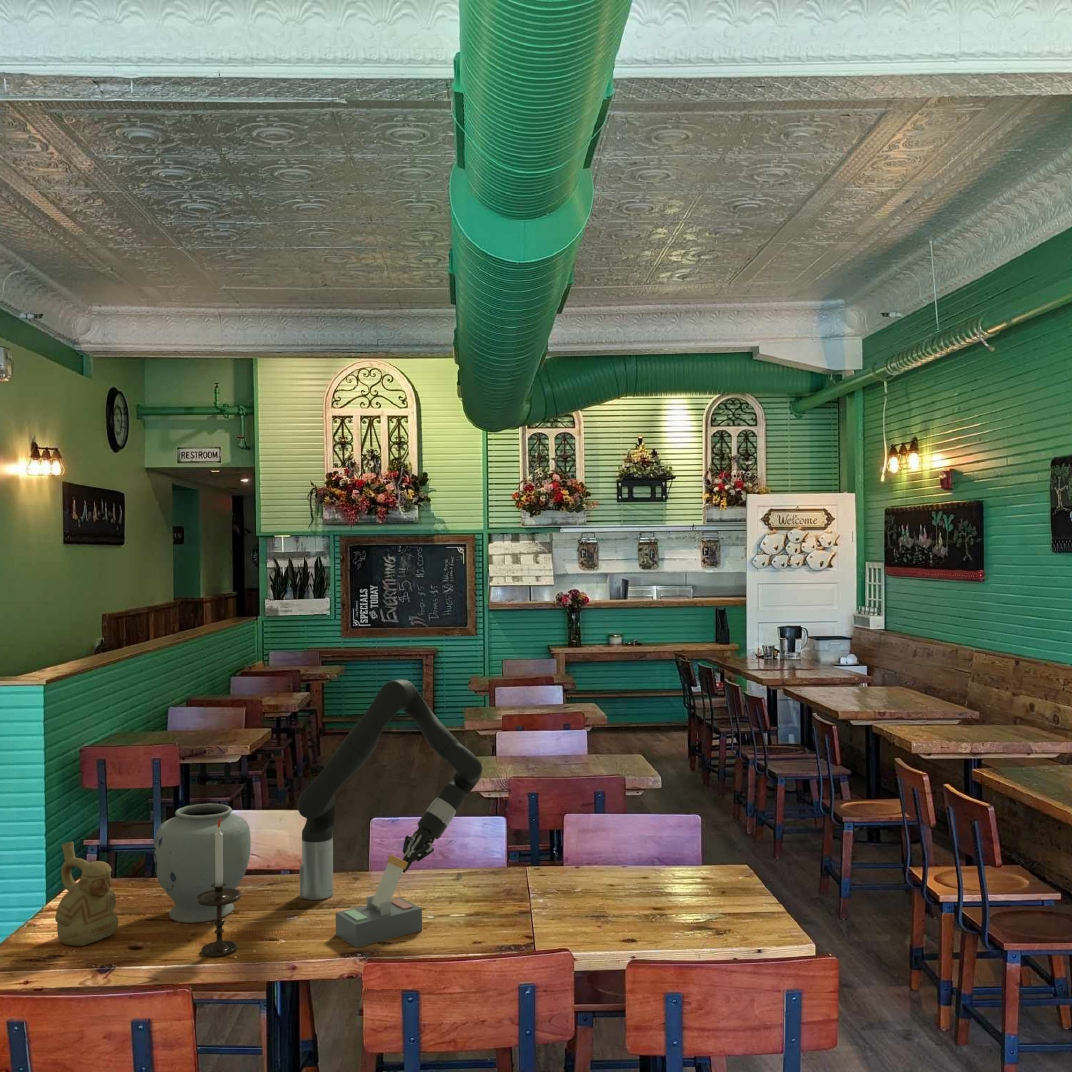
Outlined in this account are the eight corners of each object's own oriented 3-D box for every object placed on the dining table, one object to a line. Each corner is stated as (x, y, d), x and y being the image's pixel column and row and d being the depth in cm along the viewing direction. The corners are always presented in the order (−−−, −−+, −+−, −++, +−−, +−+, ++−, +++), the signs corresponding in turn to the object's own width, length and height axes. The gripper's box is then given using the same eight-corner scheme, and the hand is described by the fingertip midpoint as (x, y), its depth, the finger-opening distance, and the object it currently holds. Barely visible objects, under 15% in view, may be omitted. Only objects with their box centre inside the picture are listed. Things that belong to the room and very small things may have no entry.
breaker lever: (380, 910, 270) (401, 859, 274) (369, 904, 275) (390, 854, 279) (387, 913, 271) (408, 862, 276) (376, 907, 276) (396, 857, 281)
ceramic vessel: (78, 955, 260) (78, 858, 261) (35, 941, 270) (35, 847, 271) (135, 934, 274) (135, 842, 275) (91, 921, 285) (91, 833, 286)
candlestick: (248, 949, 262) (248, 815, 263) (210, 962, 254) (210, 823, 255) (227, 939, 269) (226, 808, 270) (189, 951, 261) (189, 816, 262)
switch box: (355, 947, 262) (355, 913, 263) (335, 934, 272) (335, 901, 272) (422, 930, 274) (421, 897, 275) (400, 918, 284) (400, 886, 284)
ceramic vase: (234, 891, 310) (233, 794, 310) (264, 915, 288) (263, 810, 289) (143, 909, 294) (143, 807, 295) (168, 936, 272) (168, 825, 273)
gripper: (416, 806, 289) (380, 857, 281) (441, 814, 279) (404, 868, 271) (433, 821, 292) (397, 872, 284) (457, 830, 282) (421, 883, 274)
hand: (400, 870), depth 278 cm, fingers closed
